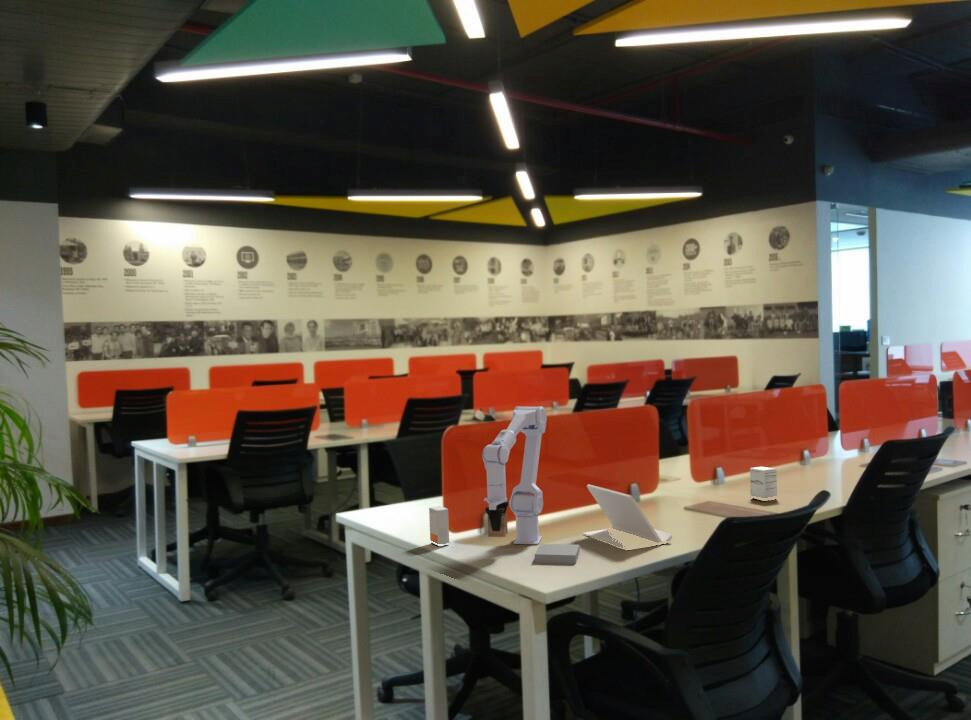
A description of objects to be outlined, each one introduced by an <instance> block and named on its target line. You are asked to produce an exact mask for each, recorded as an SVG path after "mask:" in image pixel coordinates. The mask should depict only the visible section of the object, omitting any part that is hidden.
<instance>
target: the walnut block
mask: <svg viewBox="0 0 971 720" xmlns="http://www.w3.org/2000/svg"><path fill="white" fill-rule="evenodd" d="M508 531H509V530H508V513H507V512H506V513H503V514H502V518H501V527H500V531H493V530H492V527H491V523H490V519H489V516H488V515H487V533H488V534H487V537H489V538H490V537H491V538H492V537H493V538H505V537H506V536H507V534H508Z"/></svg>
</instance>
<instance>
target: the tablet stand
mask: <svg viewBox="0 0 971 720" xmlns="http://www.w3.org/2000/svg"><path fill="white" fill-rule="evenodd" d="M586 488H587V489H588V492H590V494H591V495H592V497H593V498H594V500H595V501H596V503H597V504H598V506H599V507H600V509H601V511H603V513H604V515H605V516H606V517H607V519H608V520H609V522H610V523H611V525H612V527H611V528H613V529H616V530H619V531H623V532H626V533H629V534H633V535H636V536H639V537H641V538H645V539H648V540H651V541H654V542H657V543H659V542H662V541H669V542H670V541H671V540H672V539H673V536H672V534H671V533H668V532H664V531H663V530H660V529H655V528H654V527H653V525H652V524H651V522H650V521H649V520H648V518H647V517H646V515H645V513H644V511H642V509H641V507H640V506H639V504H638V503H637V501H636V500H635V499H634V496H632V495H631V494H627V493H624V492H619V491H616V490H612V489H609V488H605V487H601V486H596V485H592V484H589V483H588V484H587V485H586ZM604 529H605V530H604ZM604 529H600V530H593V531H586V532H585V531H584V532H582V534H585V535H588V536H591V537H593V538H596V539H599V540H602V541H605V542H607V543H610V544H613V545H615V546H618V547H621V548H623V545H622V543H621V544H620V542H619V543H618V540H617V541H616V542H615V540H616V539H614V538H613V539H614V540H613V539H612V537H611V536H610V535H609V532H608V530H607V531H606V529H607V528H604ZM610 534H611V533H610ZM585 535H584V536H585ZM611 535H612V534H611ZM593 538H592V539H593ZM612 540H613V541H612ZM661 540H662V541H661ZM624 547H625V546H624ZM625 549H626V548H625Z"/></svg>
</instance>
